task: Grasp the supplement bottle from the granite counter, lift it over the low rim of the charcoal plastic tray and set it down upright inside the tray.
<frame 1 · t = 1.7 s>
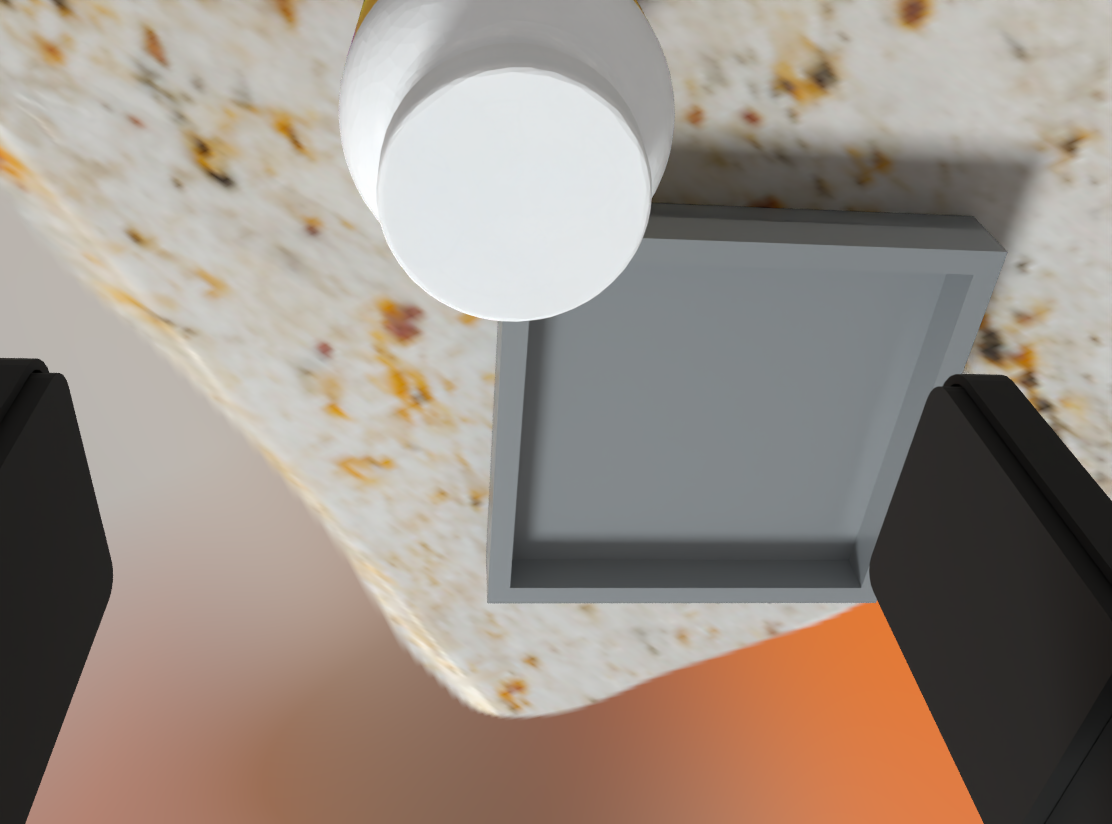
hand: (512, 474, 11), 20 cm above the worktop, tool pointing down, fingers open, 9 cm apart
supplement bottle: (495, 4, 27), on the worktop
charcoal tray: (705, 403, 35), on the worktop
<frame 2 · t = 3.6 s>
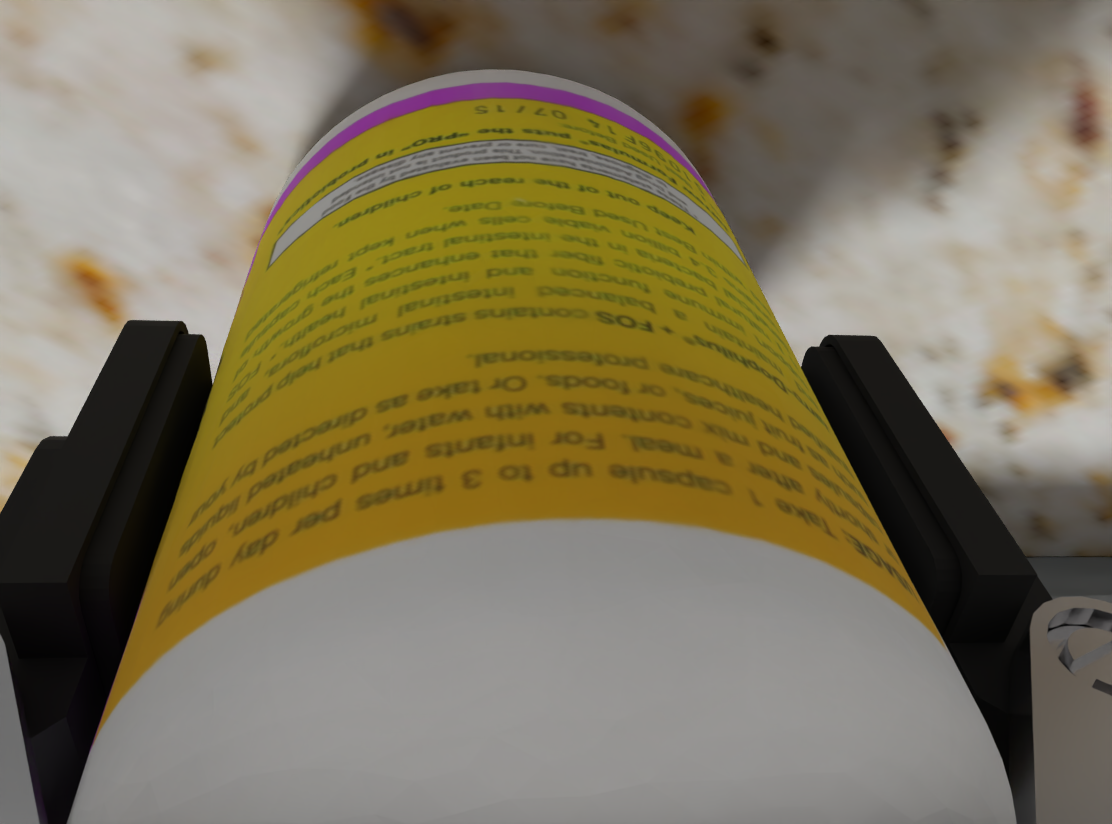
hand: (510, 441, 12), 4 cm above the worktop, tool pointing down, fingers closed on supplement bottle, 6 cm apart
supplement bottle: (496, 279, 15), on the worktop, touching gripper
charcoal tray: (819, 795, 23), on the worktop
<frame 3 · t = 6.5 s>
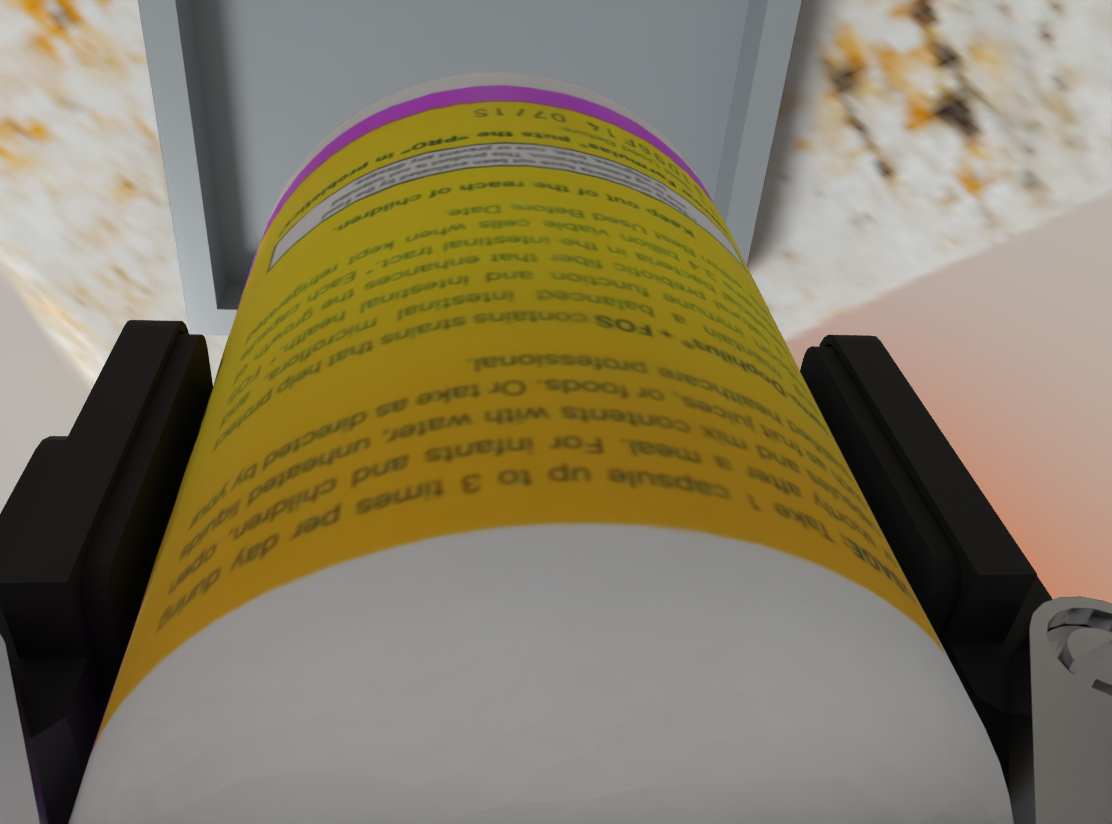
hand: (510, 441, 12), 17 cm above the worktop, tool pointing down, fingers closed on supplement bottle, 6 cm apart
supplement bottle: (495, 281, 15), point 13 cm above the worktop, touching gripper
charcoal tray: (474, 37, 26), on the worktop
when the fingers open (6 cm above the worktop, at t = 9.4 s): supplement bottle drops 1 cm, resting on charcoal tray.
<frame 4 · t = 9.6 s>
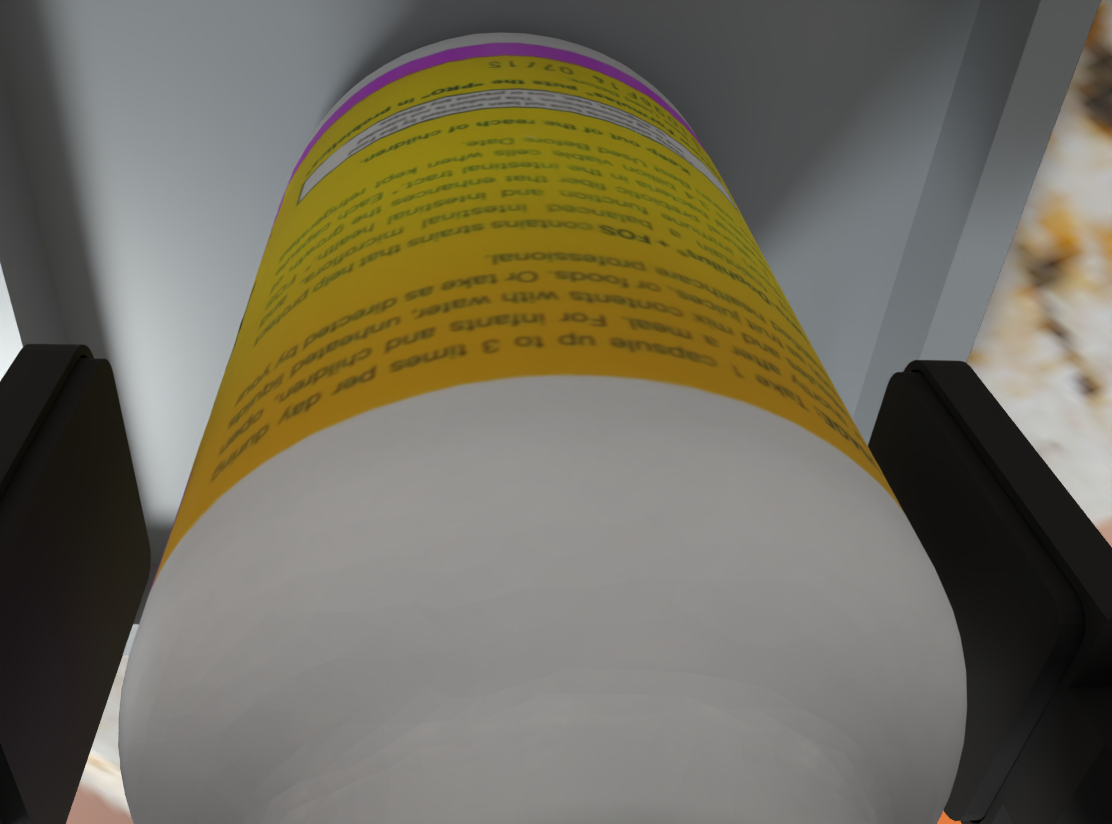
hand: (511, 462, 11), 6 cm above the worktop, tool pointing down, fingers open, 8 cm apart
supplement bottle: (503, 237, 16), point 1 cm above the worktop, touching charcoal tray
charcoal tray: (490, 223, 16), on the worktop
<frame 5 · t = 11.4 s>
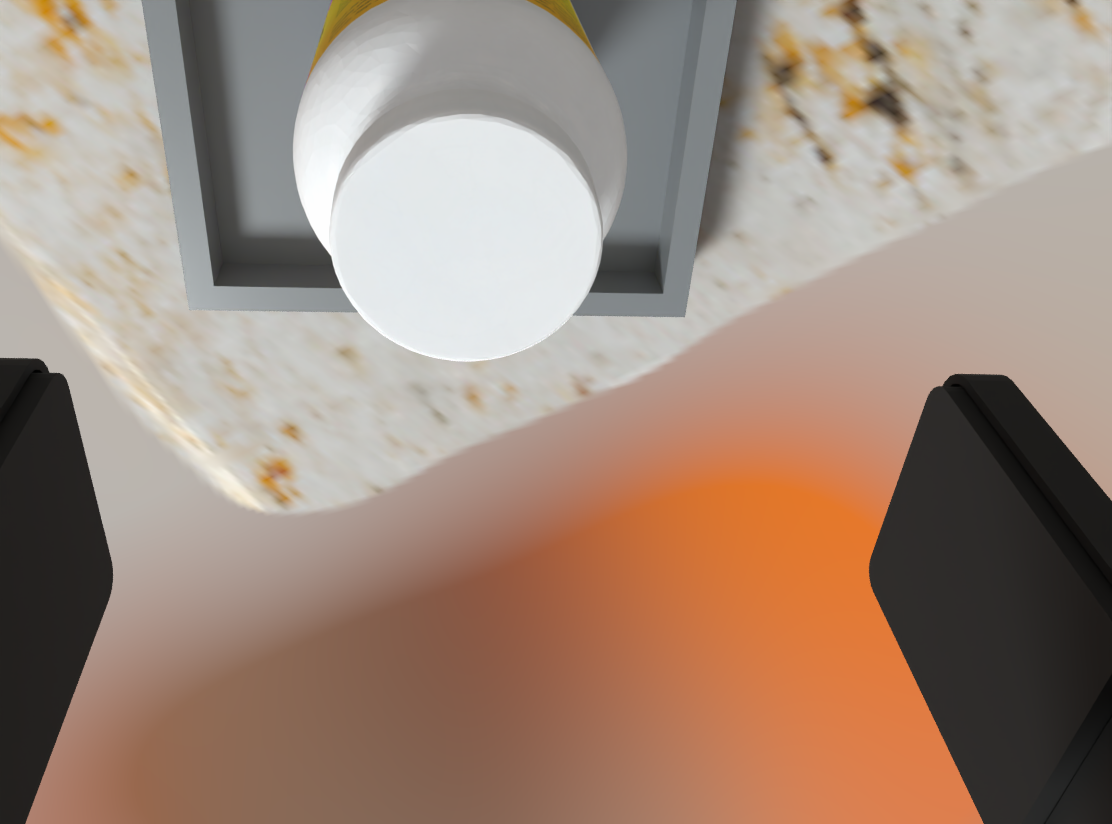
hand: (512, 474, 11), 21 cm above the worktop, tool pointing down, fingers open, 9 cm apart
supplement bottle: (452, 39, 28), point 1 cm above the worktop, touching charcoal tray
charcoal tray: (446, 37, 28), on the worktop
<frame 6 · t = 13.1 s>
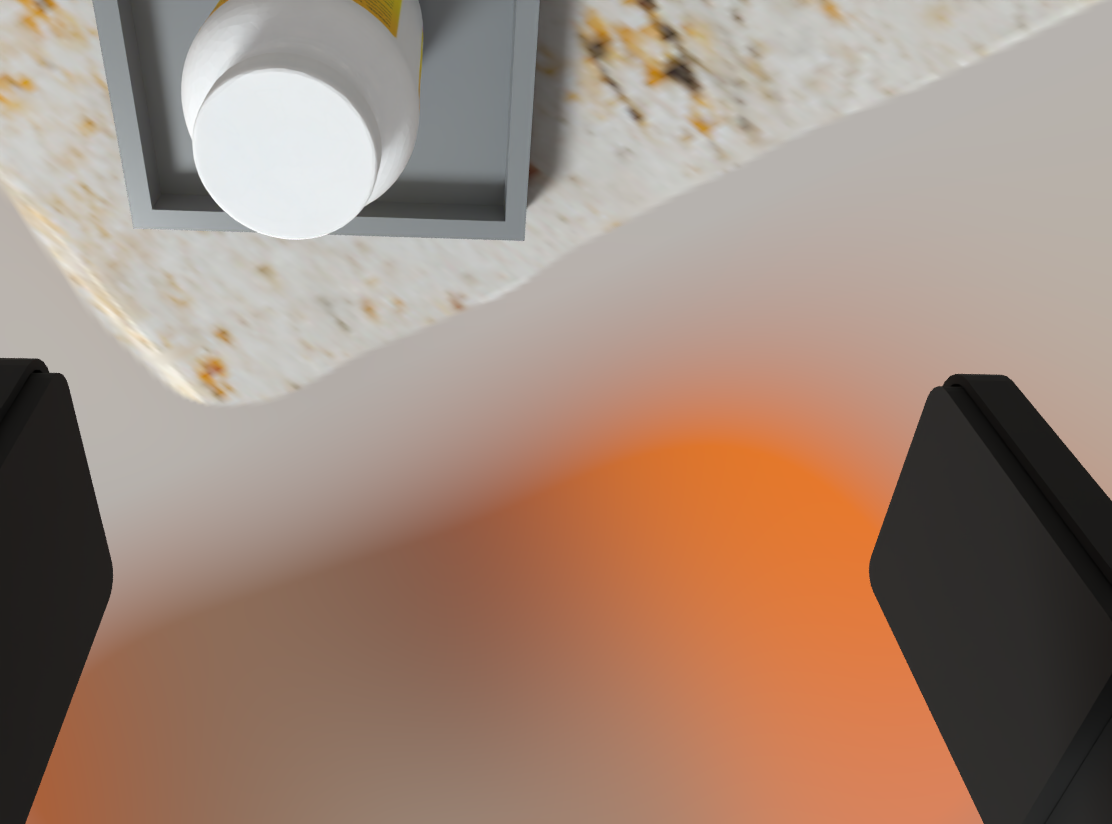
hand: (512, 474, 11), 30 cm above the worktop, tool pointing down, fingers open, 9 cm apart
supplement bottle: (331, 20, 36), point 1 cm above the worktop, touching charcoal tray
charcoal tray: (329, 18, 37), on the worktop
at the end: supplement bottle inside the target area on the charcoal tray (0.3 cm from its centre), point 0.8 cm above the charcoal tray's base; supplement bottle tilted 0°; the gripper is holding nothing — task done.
